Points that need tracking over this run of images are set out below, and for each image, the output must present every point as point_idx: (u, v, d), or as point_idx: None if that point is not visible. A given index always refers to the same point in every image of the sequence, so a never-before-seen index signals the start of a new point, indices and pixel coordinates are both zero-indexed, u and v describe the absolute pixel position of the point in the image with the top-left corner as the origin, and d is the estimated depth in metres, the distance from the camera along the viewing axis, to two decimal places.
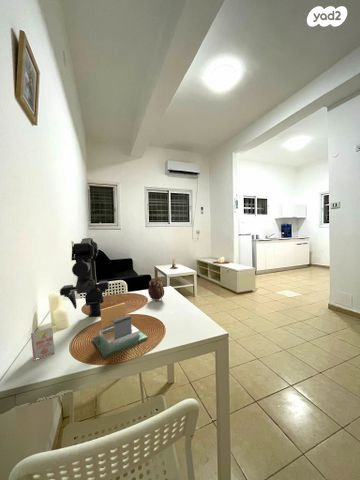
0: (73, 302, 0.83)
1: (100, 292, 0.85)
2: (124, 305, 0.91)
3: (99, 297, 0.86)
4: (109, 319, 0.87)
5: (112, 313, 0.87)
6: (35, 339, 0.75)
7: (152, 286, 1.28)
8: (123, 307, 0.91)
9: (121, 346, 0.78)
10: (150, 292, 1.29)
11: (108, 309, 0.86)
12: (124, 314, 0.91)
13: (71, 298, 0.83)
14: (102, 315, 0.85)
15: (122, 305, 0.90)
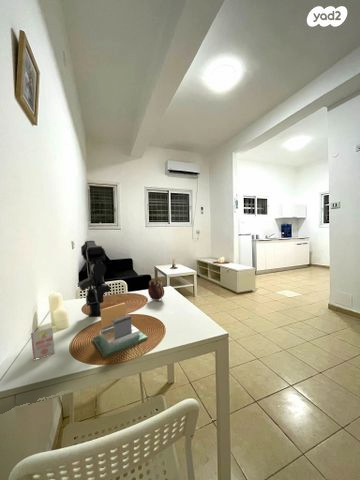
0: (95, 297, 0.97)
1: (93, 292, 0.94)
2: (124, 305, 0.91)
3: (96, 296, 0.95)
4: (109, 319, 0.87)
5: (112, 313, 0.87)
6: (35, 339, 0.75)
7: (152, 286, 1.28)
8: (123, 307, 0.91)
9: (121, 346, 0.78)
10: (150, 292, 1.29)
11: (108, 309, 0.86)
12: (124, 314, 0.91)
13: (94, 293, 0.97)
14: (102, 315, 0.85)
15: (122, 305, 0.90)
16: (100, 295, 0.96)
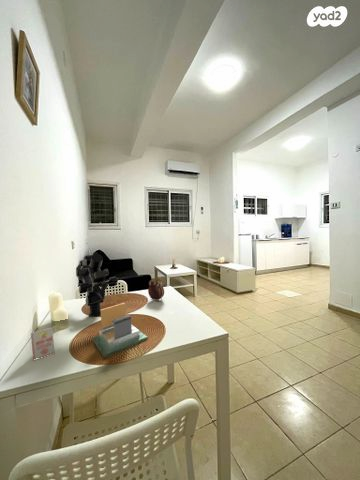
0: (100, 292, 0.99)
1: (104, 285, 1.01)
2: (124, 305, 0.91)
3: (103, 290, 1.00)
4: (109, 319, 0.87)
5: (112, 313, 0.87)
6: (35, 339, 0.75)
7: (152, 286, 1.28)
8: (123, 307, 0.91)
9: (121, 346, 0.78)
10: (150, 292, 1.29)
11: (108, 309, 0.86)
12: (124, 314, 0.91)
13: (99, 289, 1.00)
14: (102, 315, 0.85)
15: (122, 305, 0.90)
16: None
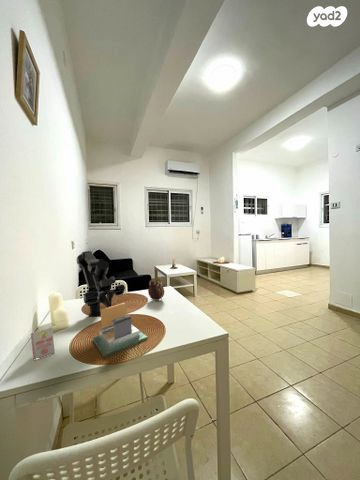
0: (107, 302, 0.92)
1: (110, 293, 0.95)
2: (124, 305, 0.91)
3: (110, 300, 0.94)
4: (109, 319, 0.87)
5: (112, 313, 0.87)
6: (35, 339, 0.75)
7: (152, 286, 1.28)
8: (123, 307, 0.91)
9: (121, 346, 0.78)
10: (150, 292, 1.29)
11: (108, 309, 0.86)
12: (124, 314, 0.91)
13: (105, 298, 0.93)
14: (102, 315, 0.85)
15: (122, 305, 0.90)
16: None
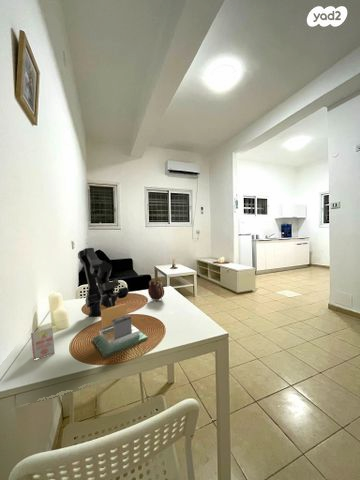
0: (110, 305, 0.89)
1: (113, 297, 0.91)
2: (125, 305, 0.91)
3: (113, 303, 0.90)
4: (110, 319, 0.87)
5: (112, 313, 0.87)
6: (35, 339, 0.75)
7: (152, 286, 1.28)
8: (123, 308, 0.90)
9: (121, 346, 0.78)
10: (150, 292, 1.29)
11: (109, 309, 0.86)
12: (124, 314, 0.91)
13: (108, 301, 0.90)
14: (102, 315, 0.84)
15: (123, 305, 0.90)
16: None
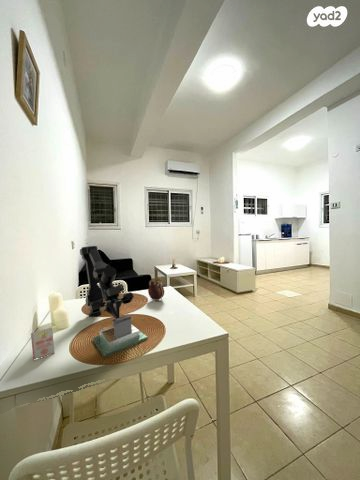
0: (115, 312, 0.85)
1: (118, 303, 0.87)
2: (131, 320, 0.86)
3: (118, 309, 0.86)
4: None
5: None
6: (35, 339, 0.75)
7: (152, 286, 1.28)
8: None
9: (121, 346, 0.78)
10: (150, 292, 1.29)
11: None
12: None
13: (112, 308, 0.86)
14: None
15: None
16: None
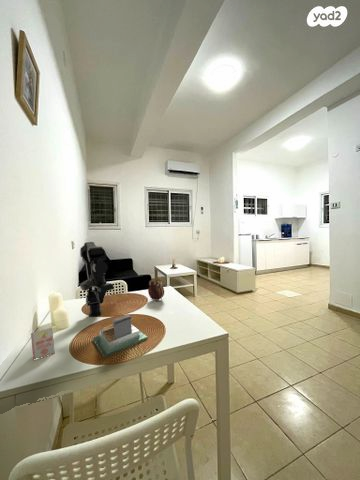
0: (97, 297, 0.97)
1: (96, 292, 0.95)
2: (131, 320, 0.86)
3: (98, 296, 0.96)
4: None
5: None
6: (35, 339, 0.75)
7: (152, 286, 1.28)
8: None
9: (121, 346, 0.78)
10: (150, 292, 1.29)
11: None
12: None
13: (95, 293, 0.98)
14: None
15: None
16: (102, 295, 0.97)
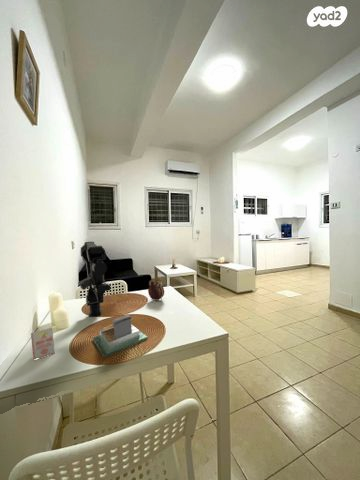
0: (96, 295, 0.99)
1: (94, 291, 0.96)
2: (131, 320, 0.86)
3: (96, 295, 0.97)
4: None
5: None
6: (35, 339, 0.75)
7: (152, 286, 1.28)
8: None
9: (121, 346, 0.78)
10: (150, 292, 1.29)
11: None
12: None
13: (94, 291, 0.99)
14: None
15: None
16: (100, 294, 0.98)
